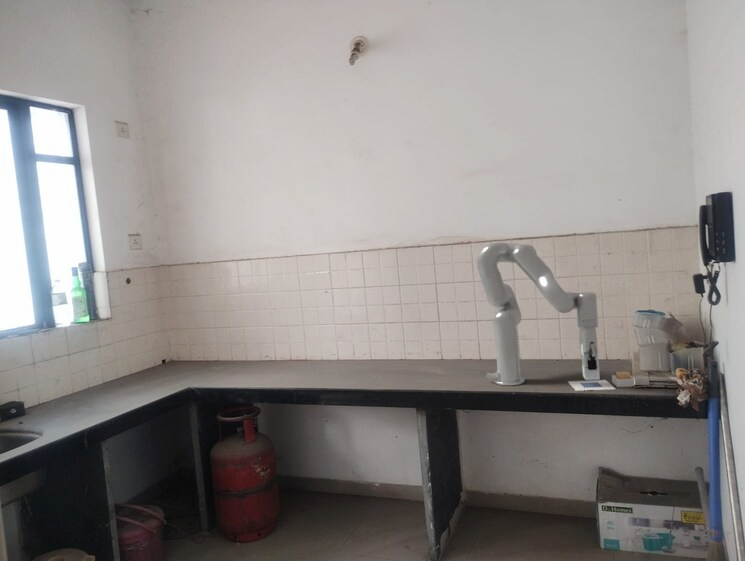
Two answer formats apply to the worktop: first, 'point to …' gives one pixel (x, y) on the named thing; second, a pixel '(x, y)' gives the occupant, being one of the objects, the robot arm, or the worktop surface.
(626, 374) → the button
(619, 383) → the button housing
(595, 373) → the syrup box
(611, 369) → the worktop surface
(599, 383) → the white square panel
